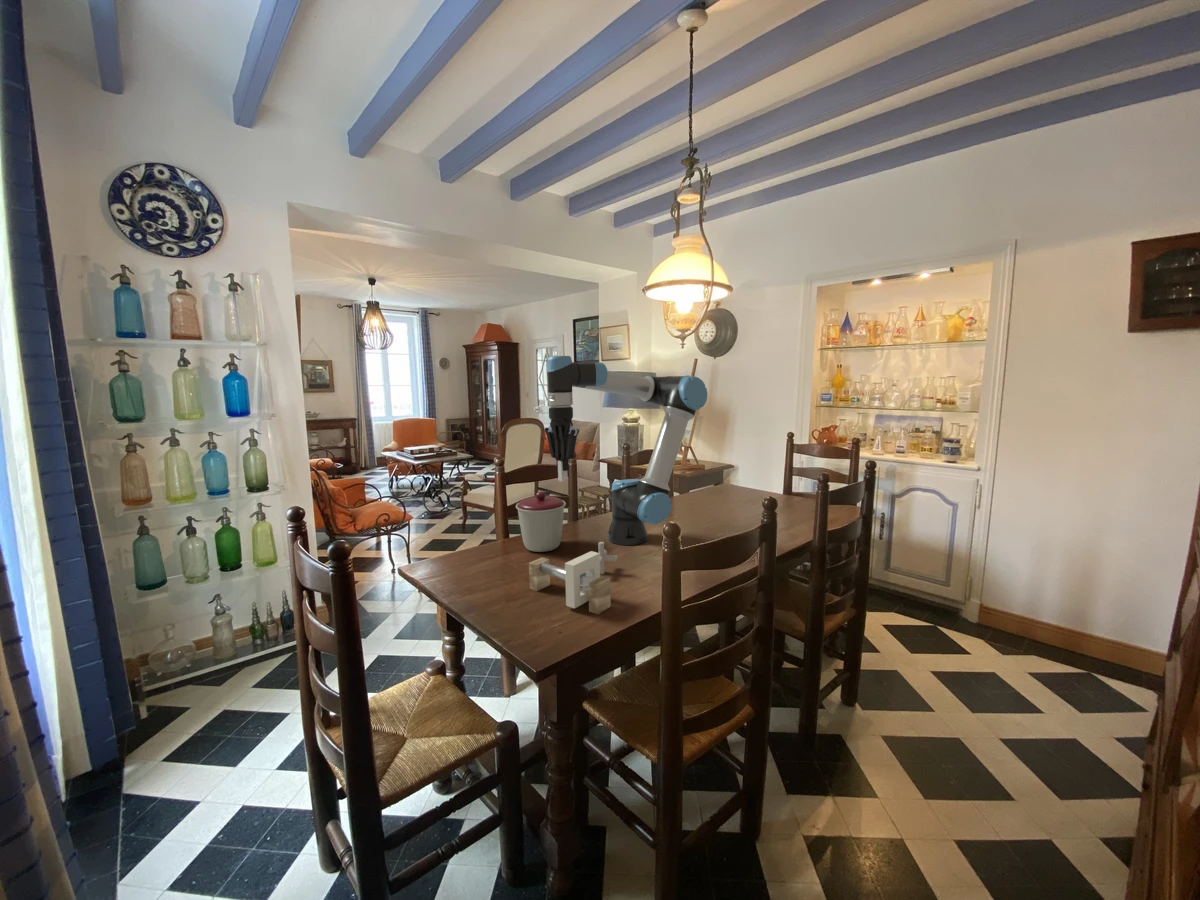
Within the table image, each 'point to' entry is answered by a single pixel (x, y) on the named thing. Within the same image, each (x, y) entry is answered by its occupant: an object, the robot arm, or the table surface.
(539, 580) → the rod support stand
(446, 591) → the table surface
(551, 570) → the steel rod
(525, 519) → the canister
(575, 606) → the collar
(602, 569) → the pipe connector
